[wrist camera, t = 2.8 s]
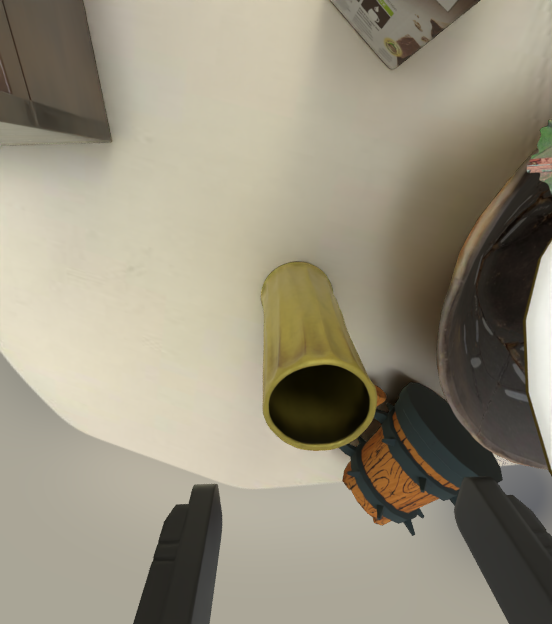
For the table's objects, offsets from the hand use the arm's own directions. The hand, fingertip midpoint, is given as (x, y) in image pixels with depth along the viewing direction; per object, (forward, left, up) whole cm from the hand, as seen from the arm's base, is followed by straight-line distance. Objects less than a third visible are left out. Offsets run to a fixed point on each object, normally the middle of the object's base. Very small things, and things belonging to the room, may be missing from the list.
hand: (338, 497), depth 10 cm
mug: (+9, +12, -14) cm, 21 cm away
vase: (0, 0, -19) cm, 19 cm away
